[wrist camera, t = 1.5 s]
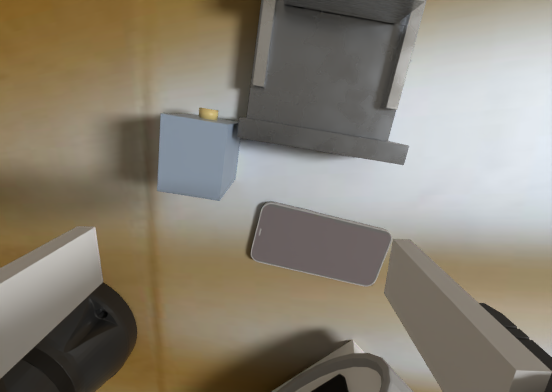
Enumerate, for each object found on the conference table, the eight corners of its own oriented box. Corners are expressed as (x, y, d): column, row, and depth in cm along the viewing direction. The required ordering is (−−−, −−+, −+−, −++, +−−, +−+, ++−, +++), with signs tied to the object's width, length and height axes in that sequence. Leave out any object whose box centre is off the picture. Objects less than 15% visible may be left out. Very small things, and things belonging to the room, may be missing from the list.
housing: (189, 171, 30) (157, 190, 22) (194, 105, 28) (161, 102, 20) (235, 179, 30) (219, 200, 22) (243, 114, 28) (229, 113, 21)
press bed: (245, 133, 29) (235, 138, 22) (268, -40, 25) (263, -94, 18) (379, 155, 29) (406, 166, 23) (423, -11, 25) (471, -55, 19)
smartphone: (372, 288, 33) (248, 260, 32) (370, 284, 34) (249, 256, 33) (395, 232, 31) (263, 200, 30) (392, 229, 32) (264, 197, 31)
